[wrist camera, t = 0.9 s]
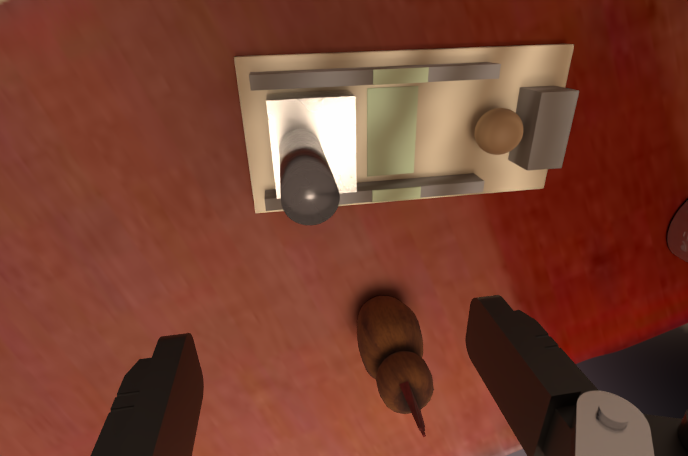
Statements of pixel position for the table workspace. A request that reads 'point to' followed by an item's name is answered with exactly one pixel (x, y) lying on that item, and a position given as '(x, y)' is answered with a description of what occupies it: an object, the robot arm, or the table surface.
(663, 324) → the table surface
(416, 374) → the wooden figurine
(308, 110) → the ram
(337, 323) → the table surface
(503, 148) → the walnut
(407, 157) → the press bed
